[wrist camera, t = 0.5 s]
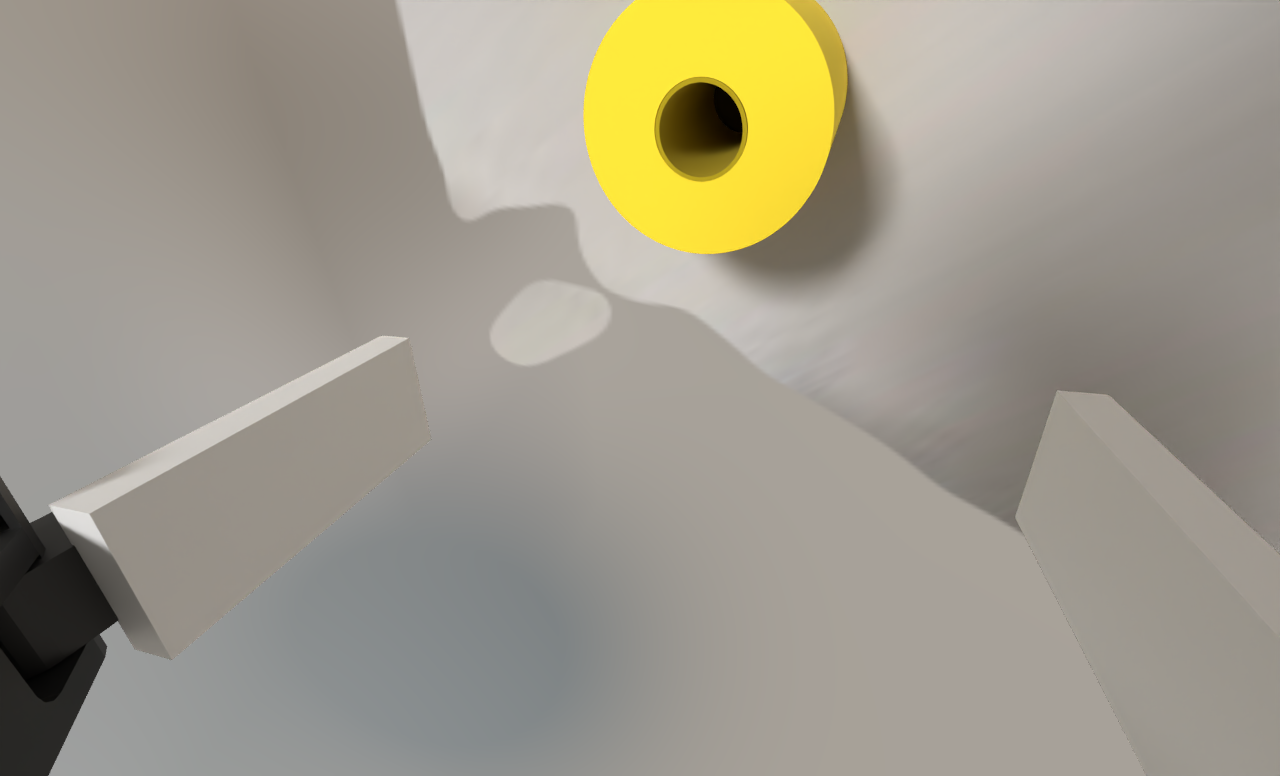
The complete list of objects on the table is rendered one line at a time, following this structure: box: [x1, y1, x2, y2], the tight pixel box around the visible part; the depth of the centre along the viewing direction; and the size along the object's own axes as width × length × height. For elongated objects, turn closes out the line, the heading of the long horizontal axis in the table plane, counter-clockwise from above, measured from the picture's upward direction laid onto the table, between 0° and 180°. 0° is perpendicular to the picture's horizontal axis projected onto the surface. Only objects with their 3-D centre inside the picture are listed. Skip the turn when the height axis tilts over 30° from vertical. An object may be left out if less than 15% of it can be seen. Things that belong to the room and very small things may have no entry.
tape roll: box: [584, 0, 848, 254], centre depth 25 cm, size 10×10×9 cm
